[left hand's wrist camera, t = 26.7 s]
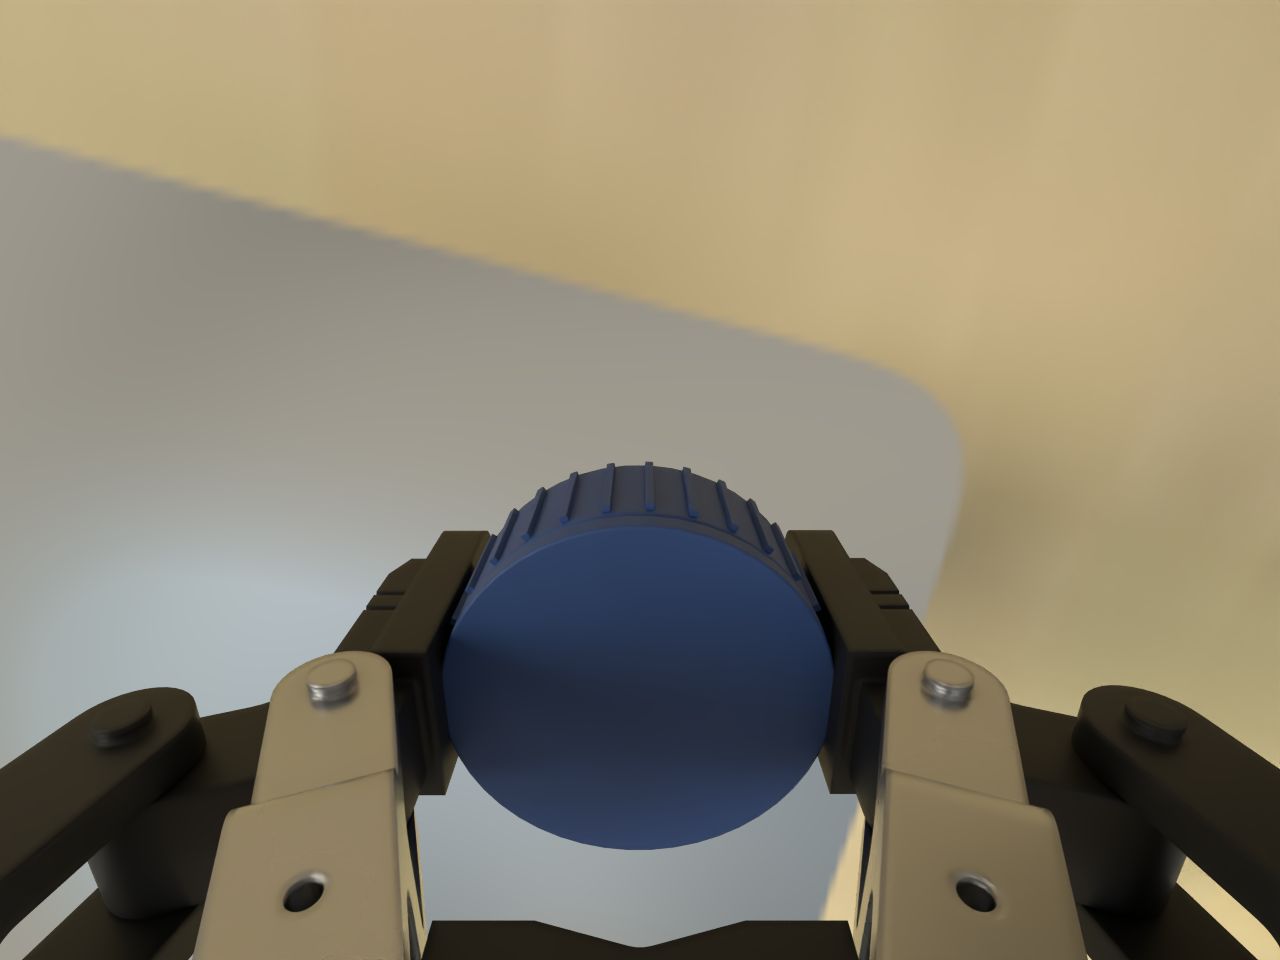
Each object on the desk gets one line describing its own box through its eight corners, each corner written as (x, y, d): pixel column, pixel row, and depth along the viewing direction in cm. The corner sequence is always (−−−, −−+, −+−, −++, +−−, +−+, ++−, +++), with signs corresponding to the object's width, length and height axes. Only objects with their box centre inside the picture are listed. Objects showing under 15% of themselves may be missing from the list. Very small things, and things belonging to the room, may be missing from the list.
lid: (584, 390, 10) (568, 435, 8) (873, 573, 11) (929, 658, 9) (414, 653, 11) (363, 750, 9) (680, 790, 12) (689, 905, 10)
